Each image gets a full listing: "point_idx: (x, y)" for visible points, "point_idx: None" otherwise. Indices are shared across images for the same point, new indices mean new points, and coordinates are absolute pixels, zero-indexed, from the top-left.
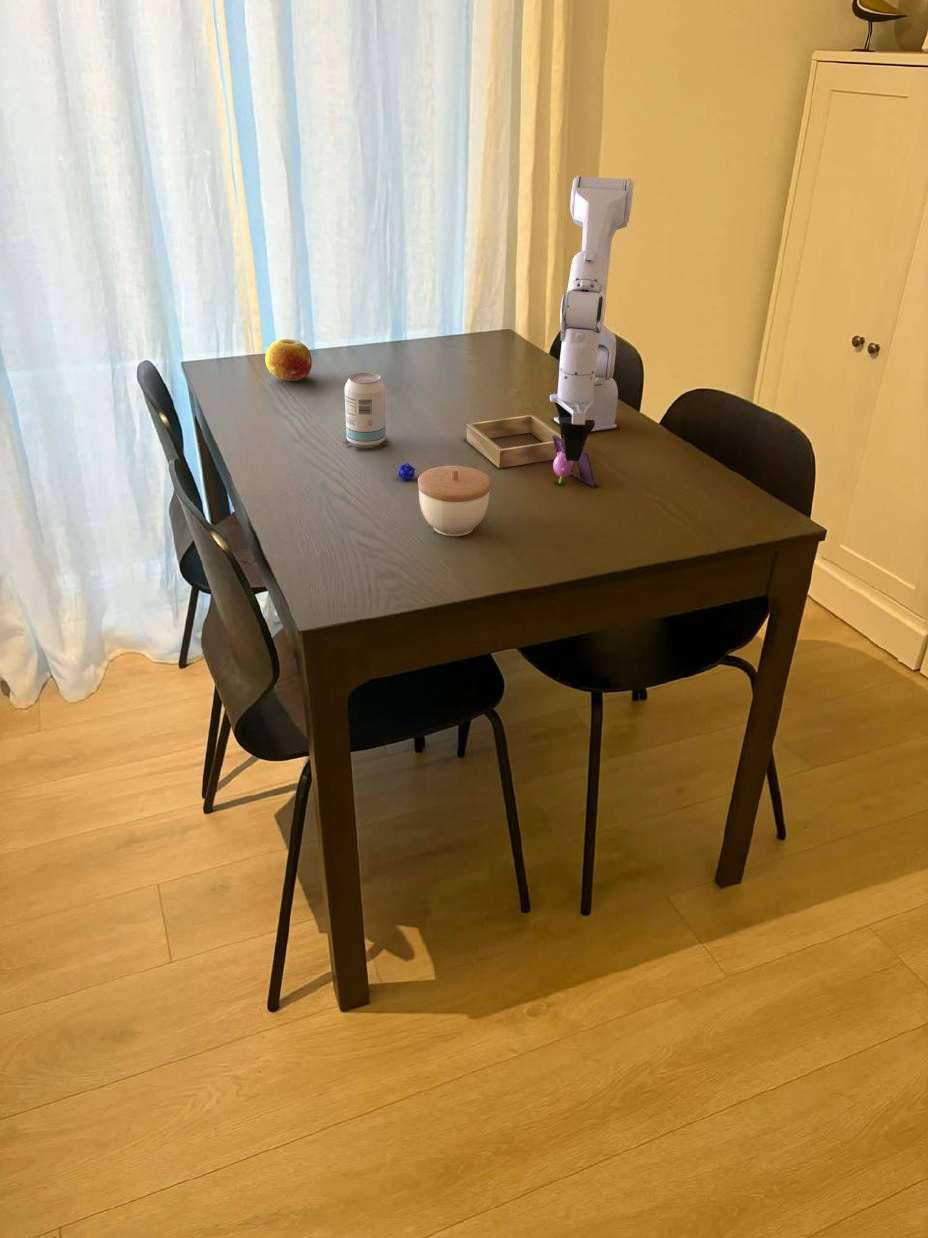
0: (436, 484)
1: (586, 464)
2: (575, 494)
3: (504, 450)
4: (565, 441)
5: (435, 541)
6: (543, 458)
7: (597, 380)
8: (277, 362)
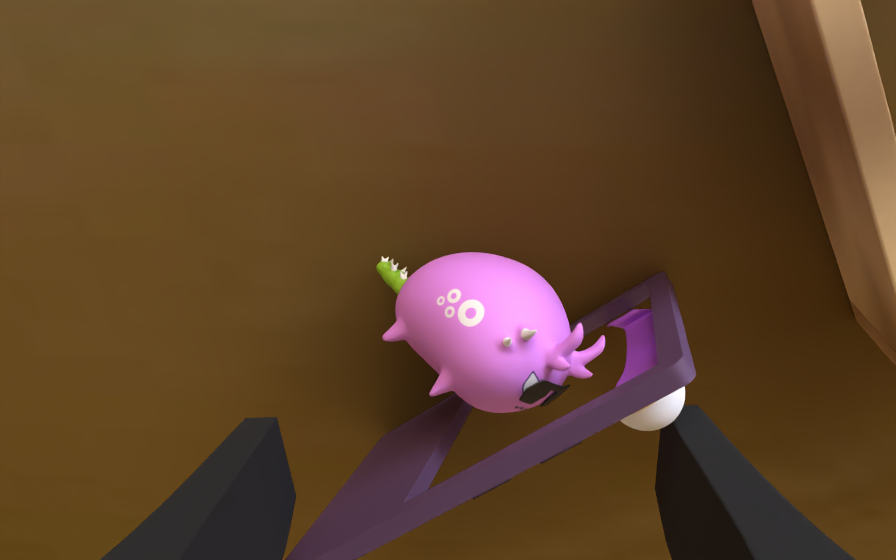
0: None
1: (341, 505)
2: (258, 342)
3: None
4: (107, 557)
5: None
6: (811, 165)
7: None
8: None
